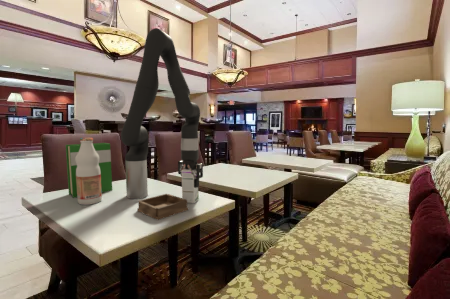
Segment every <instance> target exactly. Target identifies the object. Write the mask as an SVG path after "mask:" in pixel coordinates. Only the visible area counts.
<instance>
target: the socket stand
mask: <svg viewBox="0 0 450 299" xmlns="http://www.w3.org/2000/svg"><path fill="white" fill-rule="evenodd" d="M137 203H138V204H137V205H138V208H137V212H138V213H139V212H140V213H142V214H143V215H146V216H148V217H150V218H152V219H155V220H157V221H159V220H162V219H165V218H169V217H171V216H174V215H177V214H180V213H183V212H186V211H189V207H188V203H187V200H186V199H183V198H182V197H179V196H176V195H174V194H173V195H172V194H170V193H163V194H159V195H156V196H152V197H148V198H147V197H146V198H142V199H139V200H138V202H137Z"/></svg>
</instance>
